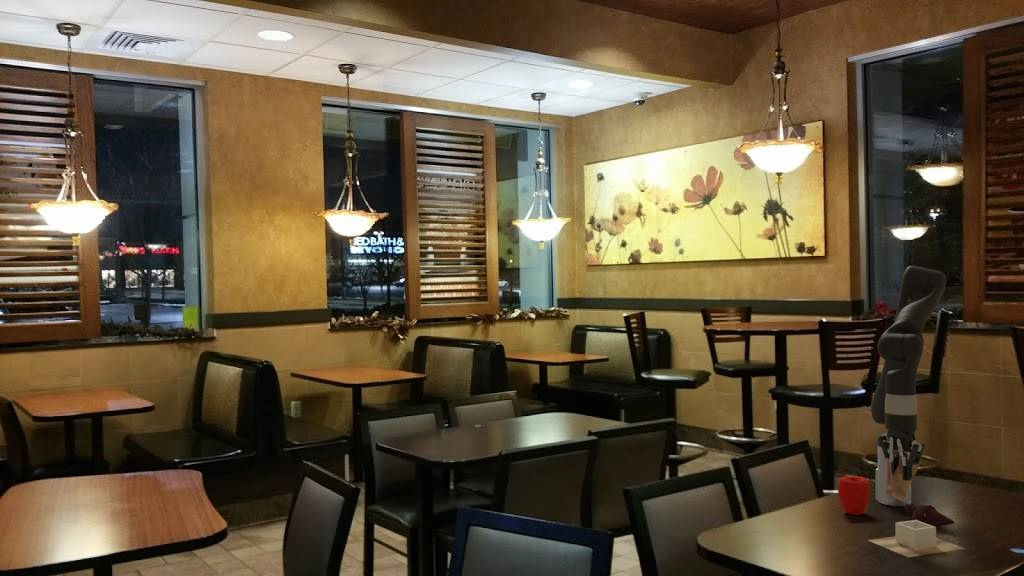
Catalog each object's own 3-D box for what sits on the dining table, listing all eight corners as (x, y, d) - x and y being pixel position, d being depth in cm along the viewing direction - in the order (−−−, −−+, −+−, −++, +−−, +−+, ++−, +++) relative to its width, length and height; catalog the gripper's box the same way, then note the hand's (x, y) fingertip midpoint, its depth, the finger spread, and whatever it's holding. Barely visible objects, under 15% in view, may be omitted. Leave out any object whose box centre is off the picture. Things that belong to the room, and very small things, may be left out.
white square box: (895, 541, 217) (895, 522, 217) (916, 539, 219) (916, 520, 219) (915, 549, 211) (914, 529, 211) (936, 546, 213) (936, 527, 213)
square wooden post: (885, 492, 217) (904, 451, 219) (893, 498, 218) (912, 456, 220) (894, 495, 214) (913, 453, 216) (903, 501, 215) (922, 459, 217)
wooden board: (867, 543, 219) (867, 540, 219) (922, 536, 224) (922, 532, 224) (907, 561, 205) (907, 557, 205) (965, 552, 211) (965, 548, 211)
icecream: (963, 510, 226) (913, 502, 239) (946, 507, 222) (896, 499, 236) (962, 537, 225) (911, 527, 238) (944, 534, 221) (894, 524, 234)
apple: (855, 507, 252) (855, 471, 252) (877, 515, 244) (877, 478, 244) (831, 511, 249) (831, 474, 249) (852, 519, 241) (852, 481, 241)
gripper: (933, 414, 211) (934, 483, 211) (893, 406, 225) (893, 471, 225) (909, 416, 209) (910, 486, 209) (869, 408, 222) (870, 473, 223)
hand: (901, 478), depth 217 cm, fingers closed on square wooden post, 3 cm apart
